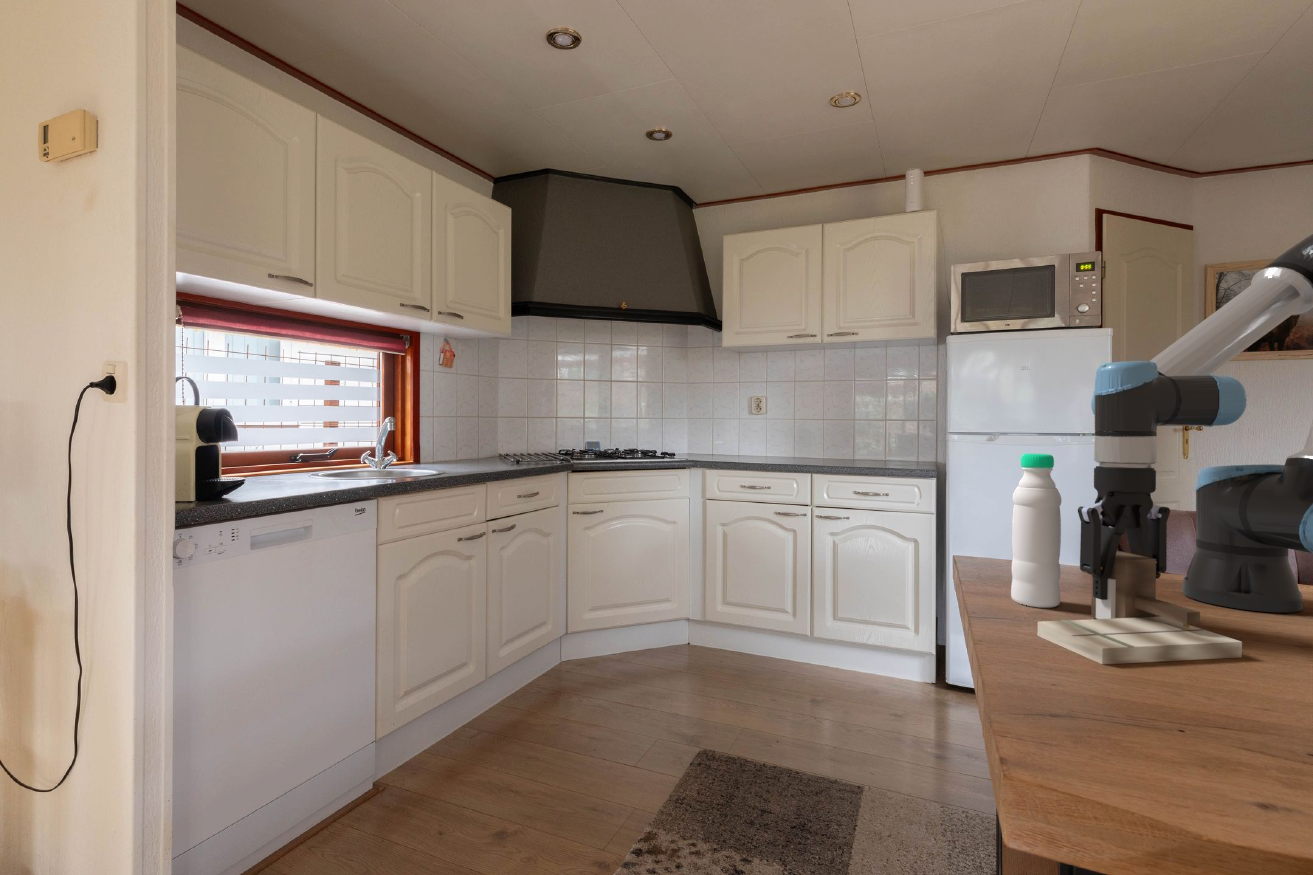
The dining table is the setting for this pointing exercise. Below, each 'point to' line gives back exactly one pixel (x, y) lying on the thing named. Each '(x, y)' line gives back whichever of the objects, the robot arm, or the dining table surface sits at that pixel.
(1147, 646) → the board
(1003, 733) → the dining table surface
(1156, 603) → the block with long handle
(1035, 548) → the water bottle
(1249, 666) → the dining table surface
